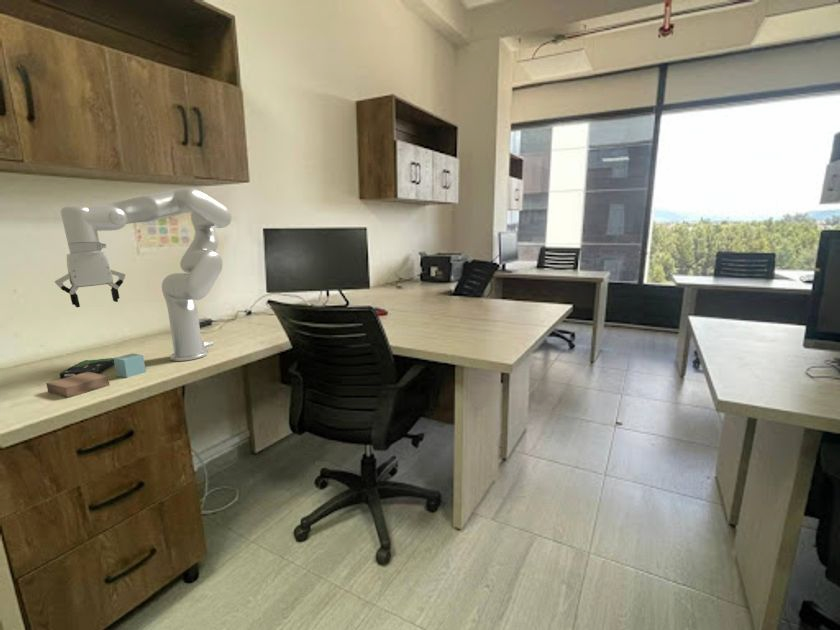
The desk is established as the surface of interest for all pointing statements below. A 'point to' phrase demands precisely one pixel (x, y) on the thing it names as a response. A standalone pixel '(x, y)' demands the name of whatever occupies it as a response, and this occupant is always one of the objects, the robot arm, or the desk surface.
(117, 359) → the teal cube
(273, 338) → the desk surface
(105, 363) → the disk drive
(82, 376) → the walnut base
